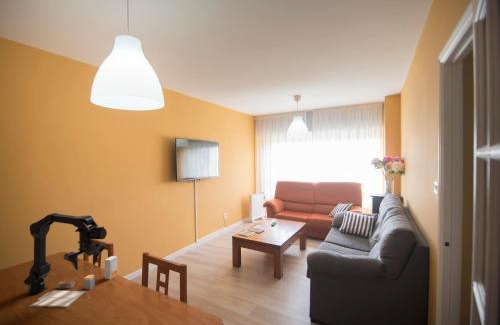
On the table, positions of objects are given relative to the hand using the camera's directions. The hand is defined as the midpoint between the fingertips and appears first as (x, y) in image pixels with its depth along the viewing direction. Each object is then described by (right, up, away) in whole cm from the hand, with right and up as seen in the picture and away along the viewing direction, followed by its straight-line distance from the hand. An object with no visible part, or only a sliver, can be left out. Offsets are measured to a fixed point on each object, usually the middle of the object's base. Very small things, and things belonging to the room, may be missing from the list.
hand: (85, 266), depth 129 cm
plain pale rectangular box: (-15, -14, +5) cm, 21 cm away
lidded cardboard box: (-1, -14, +4) cm, 15 cm away
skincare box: (+5, -14, +16) cm, 22 cm away
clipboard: (-9, -14, -7) cm, 18 cm away
